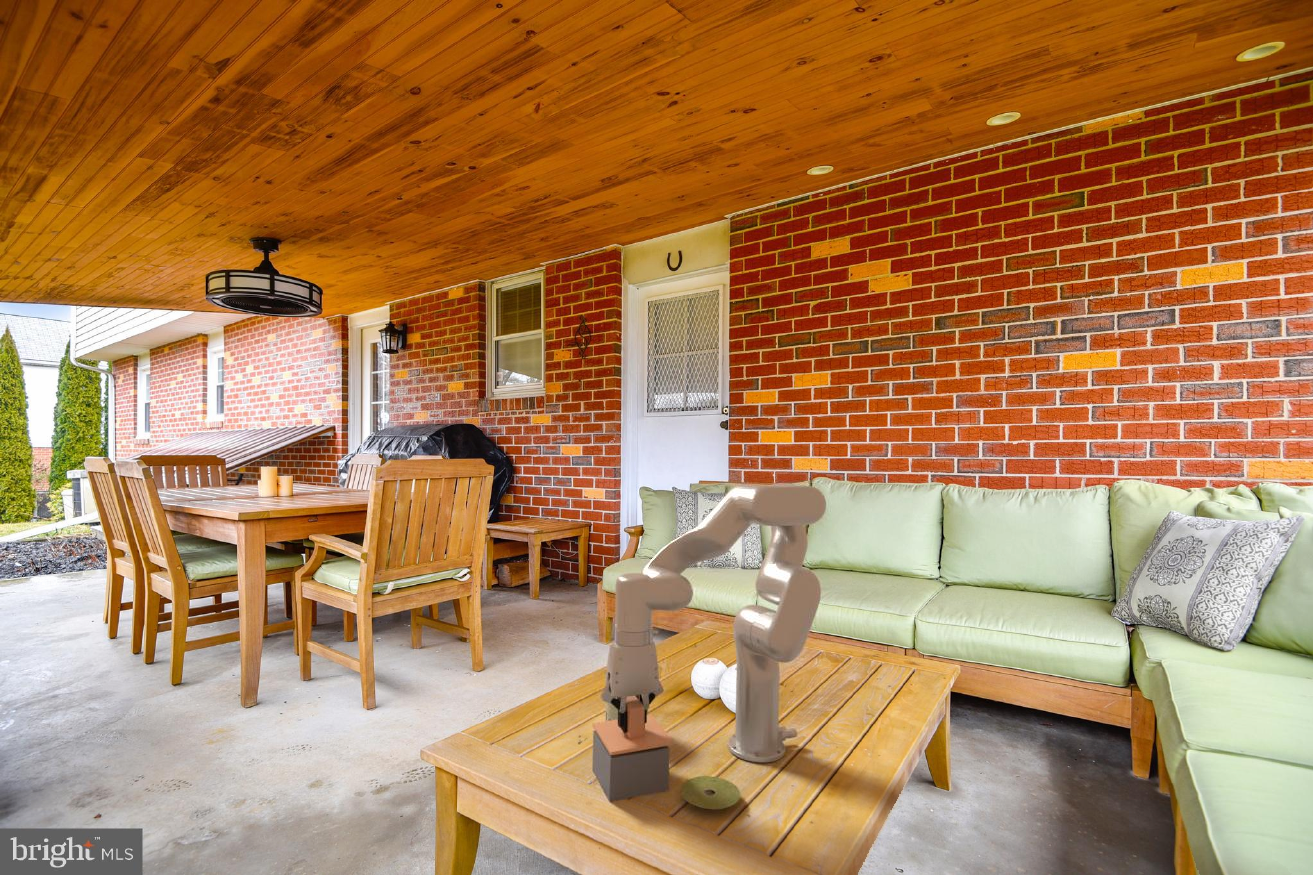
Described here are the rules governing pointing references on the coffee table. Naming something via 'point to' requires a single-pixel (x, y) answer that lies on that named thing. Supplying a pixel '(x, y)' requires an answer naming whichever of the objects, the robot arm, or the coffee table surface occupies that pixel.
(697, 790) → the green round disc
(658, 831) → the coffee table surface
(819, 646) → the coffee table surface
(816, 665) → the coffee table surface
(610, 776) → the storage box
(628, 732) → the lid
